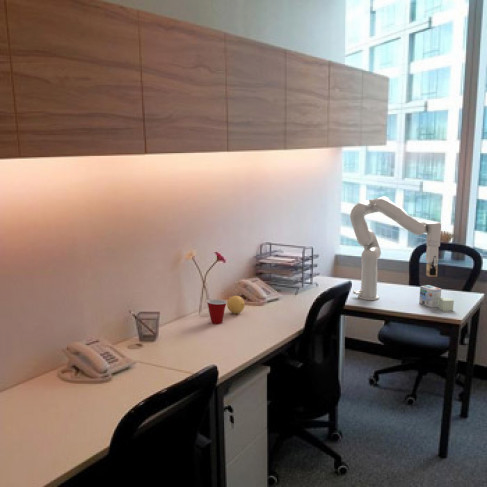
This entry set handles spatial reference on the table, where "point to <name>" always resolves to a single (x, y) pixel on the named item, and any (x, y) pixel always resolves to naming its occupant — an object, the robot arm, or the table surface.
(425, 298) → the light bulb box
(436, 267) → the oak block
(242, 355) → the table surface
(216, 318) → the plastic cup
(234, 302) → the stress ball
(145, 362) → the table surface
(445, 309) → the sage cube
